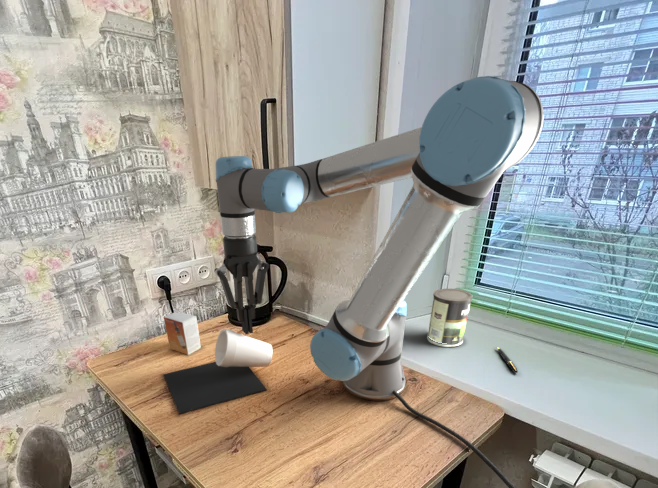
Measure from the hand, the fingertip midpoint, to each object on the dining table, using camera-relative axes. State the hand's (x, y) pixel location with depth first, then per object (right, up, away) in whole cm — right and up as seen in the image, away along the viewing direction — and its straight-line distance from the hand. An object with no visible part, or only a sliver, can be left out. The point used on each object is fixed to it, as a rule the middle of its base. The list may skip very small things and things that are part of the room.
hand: (247, 331), depth 105 cm
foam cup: (+5, -6, +6) cm, 9 cm away
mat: (-9, -13, +3) cm, 16 cm away
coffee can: (+57, 0, +19) cm, 60 cm away
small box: (-21, -3, +20) cm, 29 cm away
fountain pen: (+69, -7, +7) cm, 70 cm away
